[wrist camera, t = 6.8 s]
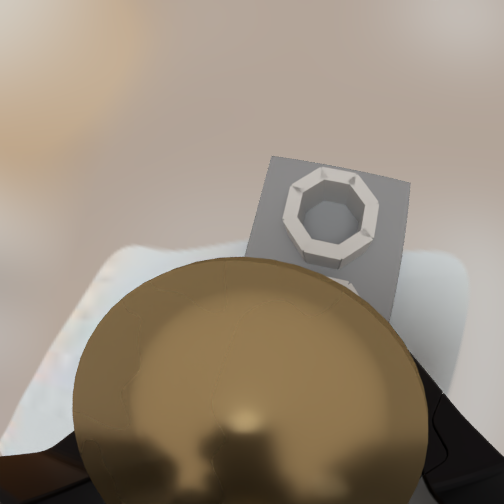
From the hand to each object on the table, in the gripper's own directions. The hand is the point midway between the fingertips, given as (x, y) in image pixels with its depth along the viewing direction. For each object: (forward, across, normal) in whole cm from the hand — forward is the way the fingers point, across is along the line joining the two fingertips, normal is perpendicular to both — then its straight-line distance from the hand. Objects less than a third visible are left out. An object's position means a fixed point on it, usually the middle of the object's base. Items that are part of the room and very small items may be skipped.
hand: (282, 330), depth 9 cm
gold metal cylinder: (+4, 0, +6) cm, 7 cm away
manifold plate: (+8, -1, +6) cm, 10 cm away
